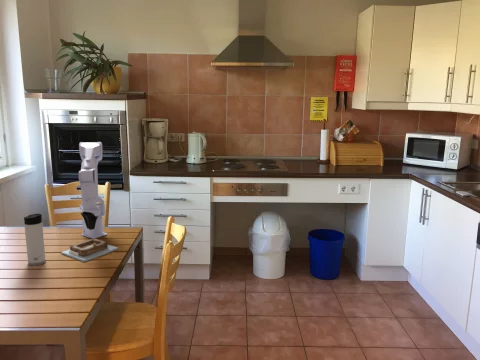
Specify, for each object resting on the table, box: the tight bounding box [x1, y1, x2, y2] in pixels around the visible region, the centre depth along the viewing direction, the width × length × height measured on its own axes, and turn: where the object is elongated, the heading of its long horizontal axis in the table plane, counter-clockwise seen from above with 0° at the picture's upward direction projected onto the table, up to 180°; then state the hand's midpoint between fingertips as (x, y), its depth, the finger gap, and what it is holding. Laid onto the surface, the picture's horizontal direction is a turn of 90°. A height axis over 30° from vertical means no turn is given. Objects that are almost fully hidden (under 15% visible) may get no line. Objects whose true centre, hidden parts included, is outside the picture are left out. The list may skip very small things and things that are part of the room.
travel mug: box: [23, 213, 47, 267], centre depth 163 cm, size 6×7×20 cm
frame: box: [69, 238, 109, 256], centre depth 176 cm, size 9×12×3 cm
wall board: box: [61, 244, 119, 263], centre depth 177 cm, size 15×17×2 cm
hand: (90, 228), depth 176 cm, fingers closed
